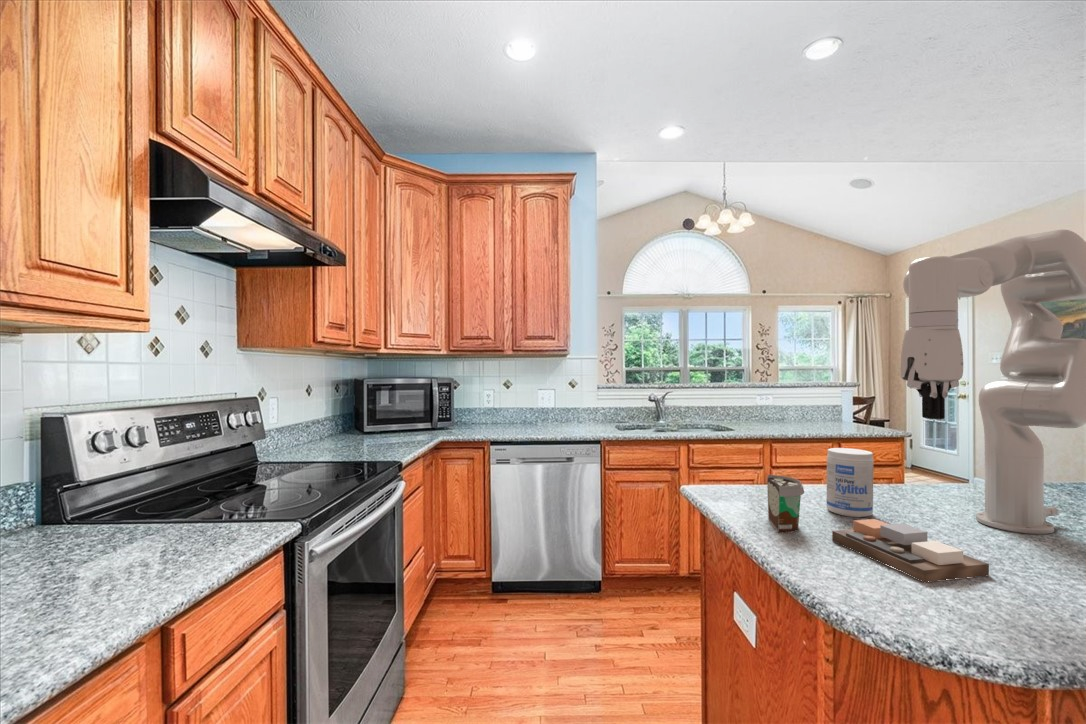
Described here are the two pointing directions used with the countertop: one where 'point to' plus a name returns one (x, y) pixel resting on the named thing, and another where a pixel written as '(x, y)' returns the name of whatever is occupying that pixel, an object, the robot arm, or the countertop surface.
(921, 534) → the grey key
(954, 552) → the cream key
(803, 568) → the countertop surface
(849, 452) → the supplement tub
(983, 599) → the countertop surface
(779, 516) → the food container
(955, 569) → the keypad board
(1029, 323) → the robot arm
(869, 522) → the terracotta key
